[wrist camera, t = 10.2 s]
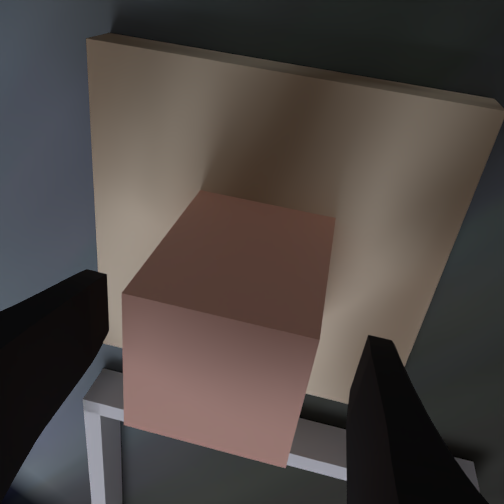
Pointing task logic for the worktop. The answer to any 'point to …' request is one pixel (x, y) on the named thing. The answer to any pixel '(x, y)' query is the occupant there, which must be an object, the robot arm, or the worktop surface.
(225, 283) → the terracotta block
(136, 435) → the worktop surface
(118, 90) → the board
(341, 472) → the tray
